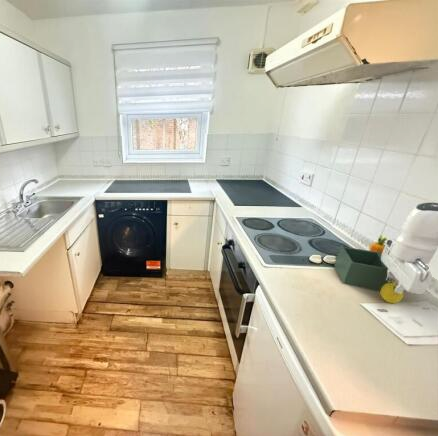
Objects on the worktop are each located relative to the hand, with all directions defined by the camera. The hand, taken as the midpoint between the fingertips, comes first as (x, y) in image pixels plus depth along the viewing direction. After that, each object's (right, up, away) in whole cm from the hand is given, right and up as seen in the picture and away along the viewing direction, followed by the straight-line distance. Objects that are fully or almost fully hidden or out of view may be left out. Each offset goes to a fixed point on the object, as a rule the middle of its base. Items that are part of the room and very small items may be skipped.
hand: (393, 286), depth 81 cm
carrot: (+13, +2, +22) cm, 26 cm away
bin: (+1, -1, +15) cm, 15 cm away
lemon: (0, -6, +2) cm, 7 cm away
